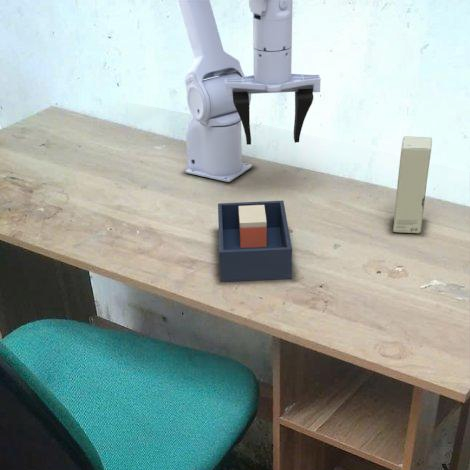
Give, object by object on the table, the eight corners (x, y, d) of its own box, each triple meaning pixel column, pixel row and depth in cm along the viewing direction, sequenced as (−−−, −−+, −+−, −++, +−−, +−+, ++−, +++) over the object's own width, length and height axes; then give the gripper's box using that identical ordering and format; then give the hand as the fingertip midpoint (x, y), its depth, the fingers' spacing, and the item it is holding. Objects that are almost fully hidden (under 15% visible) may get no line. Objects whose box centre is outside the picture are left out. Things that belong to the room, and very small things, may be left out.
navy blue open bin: (219, 231, 126) (217, 203, 123) (283, 228, 126) (283, 200, 123) (220, 282, 115) (219, 251, 111) (291, 278, 115) (291, 248, 111)
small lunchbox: (239, 230, 125) (238, 205, 122) (264, 229, 125) (264, 204, 122) (240, 248, 121) (239, 222, 118) (266, 247, 120) (266, 221, 118)
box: (420, 234, 123) (432, 149, 114) (391, 233, 124) (401, 148, 115) (421, 220, 127) (433, 135, 118) (393, 218, 127) (403, 134, 118)
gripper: (224, 56, 115) (228, 152, 125) (324, 51, 115) (320, 148, 125) (223, 42, 120) (227, 136, 130) (319, 38, 120) (315, 132, 130)
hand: (272, 141), depth 128 cm, fingers open, 7 cm apart
